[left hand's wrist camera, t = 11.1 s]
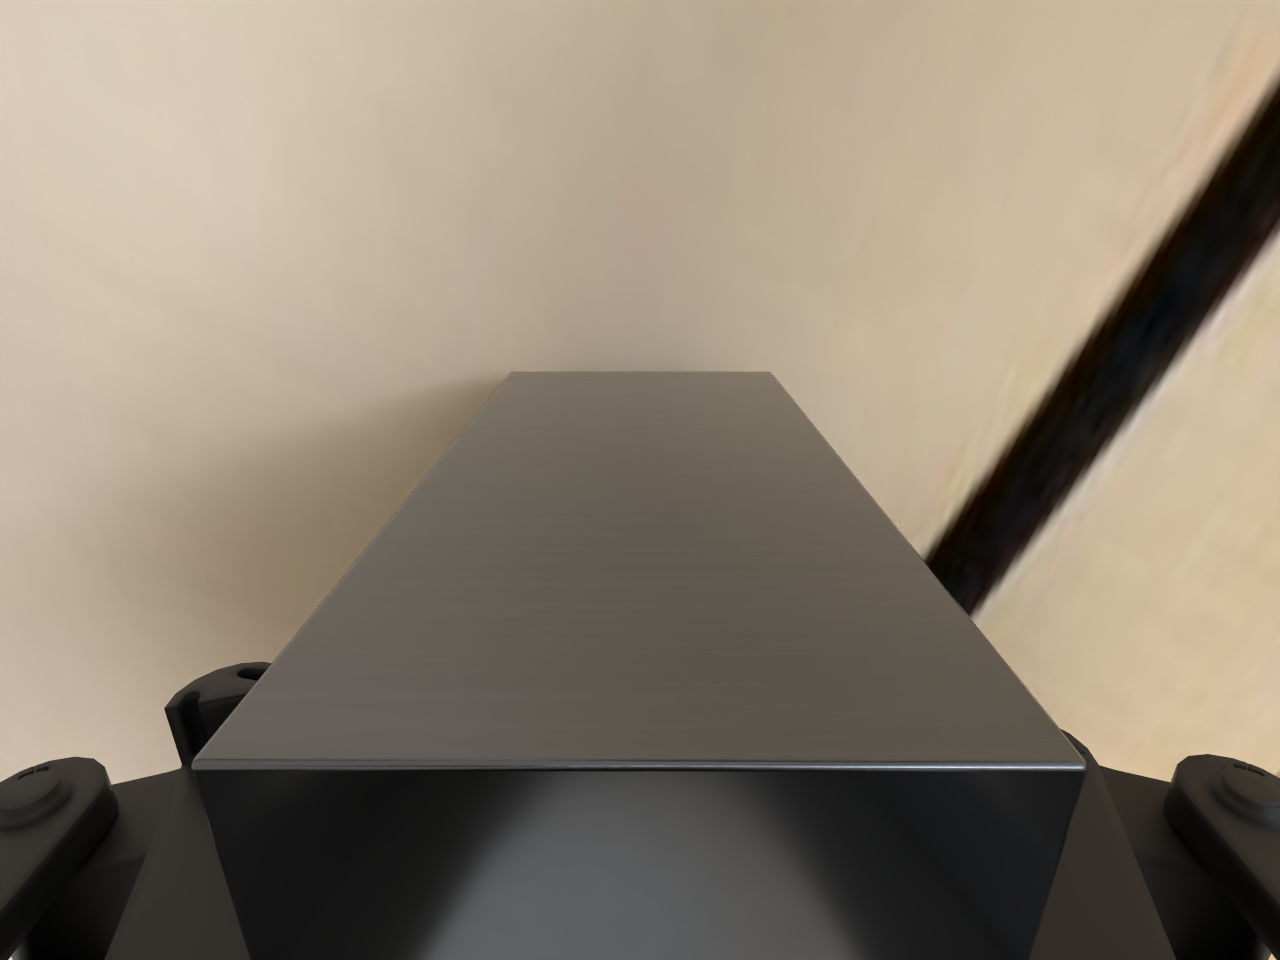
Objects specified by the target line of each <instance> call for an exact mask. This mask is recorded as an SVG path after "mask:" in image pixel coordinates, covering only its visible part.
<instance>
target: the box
mask: <svg viewBox="0 0 1280 960" xmlns="http://www.w3.org/2000/svg"><path fill="white" fill-rule="evenodd" d="M191 770H192V773H193V777H194V780H195V783H196V786H197V789H198V793H199V796H200V799H201V802H202V806H203V809H204V812H205V815H206V818H207V822H208V825H209V828H210V831H211V835H212V838H213V841H214V844H215V847H216V851H217V854H218V857H219V860H220V864H221V867H222V870H223V873H224V876H225V880H226V883H227V886H228V889H229V893H230V896H231V899H232V902H233V905H234V909H235V912H236V915H237V918H238V921H239V925H240V928H241V931H242V934H243V938H244V941H245V944H246V947H247V950H248V954H249V957H250V960H1029V959H1030V955H1031V952H1032V949H1033V946H1034V942H1035V939H1036V936H1037V933H1038V929H1039V926H1040V923H1041V920H1042V916H1043V913H1044V910H1045V907H1046V903H1047V900H1048V897H1049V894H1050V890H1051V887H1052V884H1053V881H1054V877H1055V874H1056V871H1057V868H1058V864H1059V861H1060V858H1061V855H1062V851H1063V848H1064V845H1065V842H1066V838H1067V835H1068V832H1069V829H1070V825H1071V822H1072V819H1073V816H1074V813H1075V809H1076V806H1077V803H1078V800H1079V796H1080V793H1081V790H1082V787H1083V783H1084V780H1085V777H1086V774H1087V764H1086V761H1085V759H1084V758H1083V757H1082V756H1081V754H1080V753H1079V752H1078V751H1077V749H1076V748H1075V747H1074V746H1073V745H1072V743H1071V742H1070V741H1069V740H1068V738H1067V737H1066V736H1065V735H1064V733H1063V732H1062V731H1061V730H1060V728H1059V727H1058V726H1057V725H1056V724H1055V722H1054V721H1053V720H1052V719H1051V717H1050V716H1049V715H1048V714H1047V712H1046V711H1045V710H1044V709H1043V707H1042V706H1041V705H1040V704H1039V703H1038V701H1037V700H1036V699H1035V698H1034V696H1033V695H1032V694H1031V693H1030V691H1029V690H1028V689H1027V688H1026V686H1025V685H1024V684H1023V683H1022V682H1021V680H1020V679H1019V678H1018V677H1017V675H1016V674H1015V673H1014V672H1013V670H1012V669H1011V668H1010V667H1009V665H1008V664H1007V663H1006V662H1005V661H1004V659H1003V658H1002V657H1001V656H1000V654H999V653H998V652H997V651H996V649H995V648H994V647H993V646H992V645H991V643H990V642H989V641H988V640H987V638H986V637H985V636H984V635H983V633H982V632H981V631H980V630H979V628H978V627H977V626H976V625H975V624H974V622H973V621H972V620H971V619H970V617H969V616H968V615H967V614H966V612H965V611H964V610H963V609H962V607H961V606H960V605H959V604H958V603H957V601H956V600H955V599H954V598H953V596H952V595H951V594H950V593H949V591H948V590H947V589H946V588H945V586H944V585H943V584H942V583H941V582H940V580H939V579H938V578H937V577H936V575H935V574H934V573H933V572H932V570H931V569H930V568H929V567H928V565H927V564H926V563H925V562H924V561H923V559H922V558H921V557H920V556H919V554H918V553H917V552H916V551H915V549H914V548H913V547H912V546H911V544H910V543H909V542H908V541H907V540H906V538H905V537H904V536H903V535H902V533H901V532H900V531H899V530H898V528H897V527H896V526H895V525H894V524H893V522H892V521H891V520H890V519H889V517H888V516H887V515H886V514H885V512H884V511H883V510H882V509H881V507H880V506H879V505H878V504H877V503H876V501H875V500H874V499H873V498H872V496H871V495H870V494H869V493H868V491H867V490H866V489H865V488H864V486H863V485H862V484H861V483H860V482H859V480H858V479H857V478H856V477H855V475H854V474H853V473H852V472H851V470H850V469H849V468H848V467H847V465H846V464H845V463H844V462H843V461H842V459H841V458H840V457H839V456H838V454H837V453H836V452H835V451H834V449H833V448H832V447H831V446H830V444H829V443H828V442H827V441H826V440H825V438H824V437H823V436H822V435H821V433H820V432H819V431H818V430H817V428H816V427H815V426H814V425H813V423H812V422H811V421H810V420H809V419H808V417H807V416H806V415H805V414H804V412H803V411H802V410H801V409H800V407H799V406H798V405H797V404H796V403H795V401H794V400H793V399H792V398H791V396H790V395H789V394H788V393H787V391H786V390H785V389H784V388H783V386H782V385H781V384H780V383H779V382H778V380H777V379H776V378H775V377H774V375H773V374H772V373H771V372H511V373H510V374H509V375H508V376H507V377H506V379H505V380H504V381H503V382H502V383H501V385H500V386H499V387H498V388H497V390H496V391H495V392H494V393H493V394H492V396H491V397H490V398H489V399H488V401H487V402H486V403H485V404H484V405H483V407H482V408H481V409H480V410H479V412H478V413H477V414H476V415H475V416H474V418H473V419H472V420H471V421H470V423H469V424H468V425H467V426H466V427H465V429H464V430H463V431H462V432H461V433H460V435H459V436H458V437H457V438H456V440H455V441H454V442H453V443H452V444H451V446H450V447H449V448H448V449H447V451H446V452H445V453H444V454H443V455H442V457H441V458H440V459H439V460H438V462H437V463H436V464H435V465H434V466H433V468H432V469H431V470H430V471H429V473H428V474H427V475H426V476H425V477H424V479H423V480H422V481H421V482H420V484H419V485H418V486H417V487H416V488H415V490H414V491H413V492H412V493H411V495H410V496H409V497H408V498H407V499H406V501H405V502H404V503H403V504H402V506H401V507H400V508H399V509H398V510H397V512H396V513H395V514H394V515H393V516H392V518H391V519H390V520H389V521H388V523H387V524H386V525H385V526H384V527H383V529H382V530H381V531H380V532H379V534H378V535H377V536H376V537H375V538H374V540H373V541H372V542H371V543H370V545H369V546H368V547H367V548H366V549H365V551H364V552H363V553H362V554H361V556H360V557H359V558H358V559H357V560H356V562H355V563H354V564H353V565H352V567H351V568H350V569H349V570H348V571H347V573H346V574H345V575H344V576H343V578H342V579H341V580H340V581H339V582H338V584H337V585H336V586H335V587H334V588H333V590H332V591H331V592H330V593H329V595H328V596H327V597H326V598H325V599H324V601H323V602H322V603H321V604H320V606H319V607H318V608H317V609H316V610H315V612H314V613H313V614H312V615H311V617H310V618H309V619H308V620H307V621H306V623H305V624H304V625H303V626H302V628H301V629H300V630H299V631H298V632H297V634H296V635H295V636H294V637H293V639H292V640H291V641H290V642H289V643H288V645H287V646H286V647H285V648H284V650H283V651H282V652H281V653H280V654H279V656H278V657H277V658H276V659H275V660H274V662H273V663H272V664H271V665H270V667H269V668H268V669H267V670H266V671H265V673H264V674H263V675H262V676H261V678H260V679H259V680H258V681H257V682H256V684H255V685H254V686H253V687H252V689H251V690H250V691H249V692H248V693H247V695H246V696H245V697H244V698H243V700H242V701H241V702H240V703H239V704H238V706H237V707H236V708H235V709H234V711H233V712H232V713H231V714H230V715H229V717H228V718H227V719H226V720H225V722H224V723H223V724H222V725H221V726H220V728H219V729H218V730H217V731H216V732H215V734H214V735H213V736H212V737H211V739H210V740H209V741H208V742H207V743H206V745H205V746H204V747H203V748H202V750H201V751H200V752H199V753H198V754H197V756H196V757H195V758H194V760H193V762H192V767H191Z"/></svg>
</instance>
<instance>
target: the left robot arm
mask: <svg viewBox="0 0 1280 960" xmlns="http://www.w3.org/2000/svg"><path fill="white" fill-rule="evenodd" d="M270 665H271V663H266V662H253V663H241V664H237V665H233V666H229V667H225V668H222V669H218V670H216V671H213V672H211V673H209V674H207V675H205V676H202V677H200V678H198V679H196V680H194V681H193V682H191V683H190V684H189V685H187V686H186V687H184V688H183V689H182V690H180V691H179V692H177V693H176V694H175V695H174V697H173V698H172V699H171V700H170V702H169V703H168V704H167V706H166V707H165V708H164V709H165V712H166V716H167V719H168V722H169V725H170V728H171V731H172V735H173V738H174V741H175V744H176V747H177V750H178V753H179V757H180V760H181V763H182V766H181V769H177V770H174V771H170V772H167V773H162V774H158V775H154V776H149V777H145V778H140V779H136V780H131V781H127V782H123V783H118V784H114V785H111V783H110V780H109V777H108V775H107V772H106V769H105V767H104V766H103V765H101V764H100V763H99V762H97V761H96V760H95V759H91V758H81V757H70V758H64V759H58V760H53V761H48V762H45V763H42V764H39V765H36V766H34V767H30V768H28V769H25V770H23V771H20V772H18V773H17V774H15V775H13V776H11V777H9V778H7V779H6V780H4V781H2V782H0V960H8V959H9V958H10V957H12V959H13V960H250V957H249V954H248V950H247V947H246V944H245V941H244V938H243V934H242V931H241V928H240V925H239V921H238V918H237V915H236V912H235V909H234V905H233V902H232V899H231V896H230V893H229V889H228V886H227V883H226V880H225V876H224V873H223V870H222V867H221V864H220V860H219V857H218V854H217V851H216V847H215V844H214V841H213V838H212V835H211V831H210V828H209V825H208V822H207V818H206V815H205V812H204V809H203V806H202V802H201V799H200V796H199V793H198V789H197V786H196V783H195V780H194V777H193V773H192V770H191V767H192V762H193V760H194V758H195V757H196V756H197V754H198V753H199V752H200V751H201V750H202V748H203V747H204V746H205V745H206V743H207V742H208V741H209V740H210V739H211V737H212V736H213V735H214V734H215V732H216V731H217V730H218V729H219V728H220V726H221V725H222V724H223V723H224V722H225V720H226V719H227V718H228V717H229V715H230V714H231V713H232V712H233V711H234V709H235V708H236V707H237V706H238V704H239V703H240V702H241V701H242V700H243V698H244V697H245V696H246V695H247V693H248V692H249V691H250V690H251V689H252V687H253V686H254V685H255V684H256V682H257V681H258V680H259V679H260V678H261V676H262V675H263V674H264V673H265V671H266V670H267V669H268V668H269V667H270ZM1060 730H1061V731H1062V732H1063V733H1064V735H1065V736H1066V737H1067V738H1068V740H1069V741H1070V742H1071V743H1072V745H1073V746H1074V747H1075V748H1076V749H1077V751H1078V752H1079V753H1080V754H1081V756H1082V757H1083V758H1084V759H1085V761H1086V764H1087V774H1086V777H1085V780H1084V783H1083V787H1082V790H1081V793H1080V796H1079V800H1078V803H1077V806H1076V809H1075V813H1074V816H1073V819H1072V822H1071V825H1070V829H1069V832H1068V835H1067V838H1066V842H1065V845H1064V848H1063V851H1062V855H1061V858H1060V861H1059V864H1058V868H1057V871H1056V874H1055V877H1054V881H1053V884H1052V887H1051V890H1050V894H1049V897H1048V900H1047V903H1046V907H1045V910H1044V913H1043V916H1042V920H1041V923H1040V926H1039V929H1038V933H1037V936H1036V939H1035V942H1034V946H1033V949H1032V952H1031V955H1030V959H1029V960H1268V959H1269V957H1270V955H1271V953H1272V954H1273V956H1274V957H1275V958H1276V959H1277V960H1280V778H1278V777H1276V776H1274V775H1273V774H1271V773H1269V772H1267V771H1265V770H1263V769H1261V768H1259V767H1256V766H1254V765H1251V764H1247V763H1246V762H1242V761H1239V760H1236V759H1233V758H1228V757H1222V756H1216V755H1210V754H1204V755H1194V756H1188V757H1187V758H1185V759H1184V760H1182V761H1181V762H1180V763H1178V764H1177V767H1176V769H1175V772H1174V775H1173V777H1172V780H1171V782H1166V781H1162V780H1157V779H1153V778H1148V777H1144V776H1140V775H1135V774H1131V773H1126V772H1122V771H1117V770H1113V769H1110V768H1106V767H1103V766H1100V765H1098V763H1097V762H1096V760H1095V759H1094V757H1093V756H1092V754H1091V753H1090V751H1089V750H1088V748H1087V747H1085V746H1084V745H1083V744H1082V743H1080V742H1079V741H1078V740H1077V739H1076V738H1074V737H1073V736H1072V735H1071V734H1069V733H1067V732H1065V731H1064V730H1062V729H1060Z"/></svg>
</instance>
